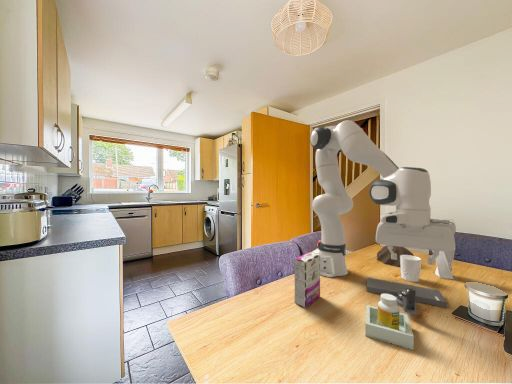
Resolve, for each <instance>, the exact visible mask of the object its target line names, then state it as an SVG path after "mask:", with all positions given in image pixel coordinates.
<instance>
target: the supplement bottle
mask: <svg viewBox="0 0 512 384" xmlns="http://www.w3.org/2000/svg"><path fill="white" fill-rule="evenodd" d="M379 299H380V300H379V301H378V302H377V307H378V325H380V326H384V327H387V328H391V329H395V330H399V313H400V307H399V305H398V304H397V298H396V297H395V296H393V295H390V294H380V298H379Z"/></svg>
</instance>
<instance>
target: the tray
mask: <svg viewBox="0 0 512 384" xmlns="http://www.w3.org/2000/svg"><path fill="white" fill-rule="evenodd" d="M365 305H366V306H365V308H366V309H365V337H368V338H371V339H374V338H375V340H378V341H382V342H385V343H388V344H391V343H392V345H395V346H399V347H402V348H404V349H405V348H406V349H408V348H409V349H408V350H412V351H413V350H414V347H415V346H414V341H415V339H414V333H413V330H412V326H411V323H410V319H409V316H408V313H407V314H406V313H404V312H403V313H402V312H399V330H395V329H391V328H387V327H384V326H380V325H378V306H373V305H368V304H365Z"/></svg>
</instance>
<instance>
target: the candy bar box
mask: <svg viewBox="0 0 512 384" xmlns="http://www.w3.org/2000/svg"><path fill="white" fill-rule="evenodd" d="M293 264H294V266H293V267H294V304H296V305H298V306H301V307H303V308H306V309H307V308H308V307H309V306H310V305H311V304H313V303H314V302H315V301H316V300H317V299H319V297H321V275H320V254H316V253H312V251H311V252H310V251H309V252H307V253H305V254H302V255H300V256H298V257H296V258H294V262H293Z"/></svg>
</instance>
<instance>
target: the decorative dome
mask: <svg viewBox="0 0 512 384" xmlns="http://www.w3.org/2000/svg"><path fill="white" fill-rule="evenodd" d="M392 251H393V253H397V260H394V259H391V253H390V251H389V249H388V245H383V246H382V248H381V249H379V251H378V252H377V253H376V257H377V258H376V261H378V262H380V263H383V264H384V265H388V266H392V267H396V268H401V266H400V255H411V256H415V255H414V254H413V252H412V251H410V250H409V249H408V248H407V247H399V246H393V249H392Z"/></svg>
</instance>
